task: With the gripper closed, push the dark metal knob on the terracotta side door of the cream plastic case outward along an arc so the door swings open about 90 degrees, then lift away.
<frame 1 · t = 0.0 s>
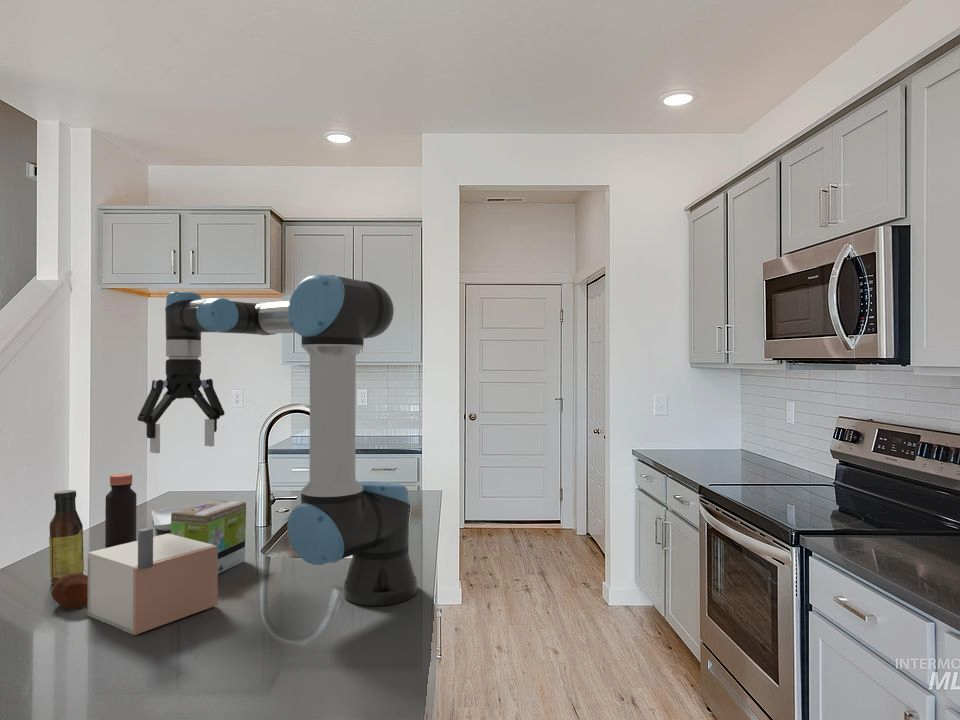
hand: (183, 449, 147), 28 cm above the table, tool pointing down, fingers open, 13 cm apart
case: (152, 610, 122), on the table
salad plate: (191, 524, 190), on the table
side door: (180, 570, 117), point 9 cm above the table, hinge at 0.0°
potato: (72, 606, 124), on the table
vinegar: (120, 555, 158), on the table
tea box: (209, 570, 146), on the table
sauce bottle: (66, 582, 138), on the table
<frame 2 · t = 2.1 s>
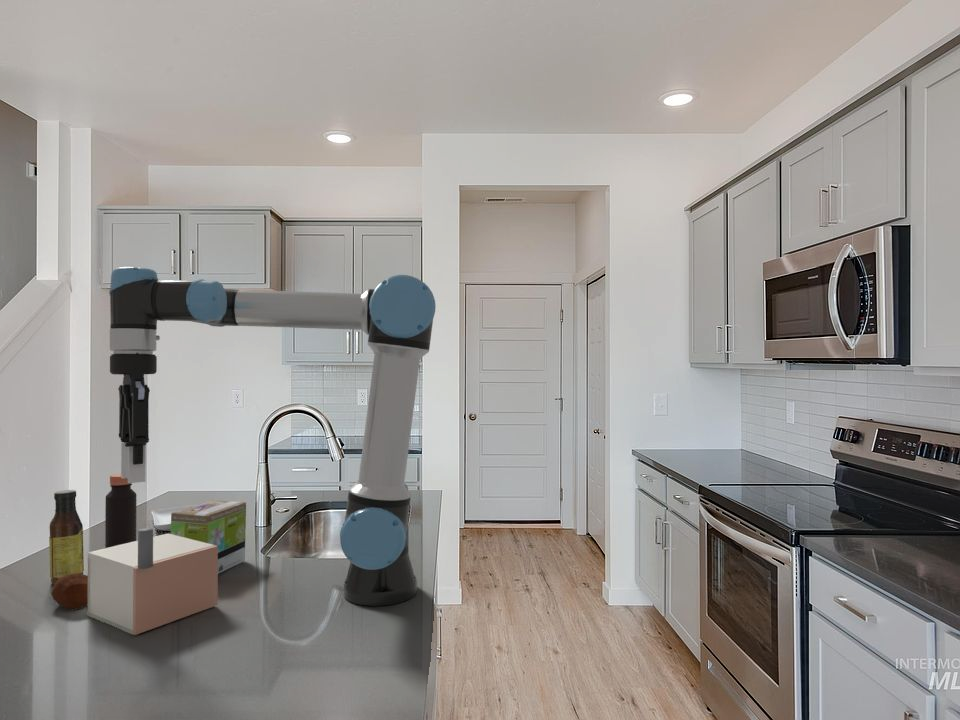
hand: (133, 479, 115), 27 cm above the table, tool pointing down, fingers open, 5 cm apart
nothing on the table moved.
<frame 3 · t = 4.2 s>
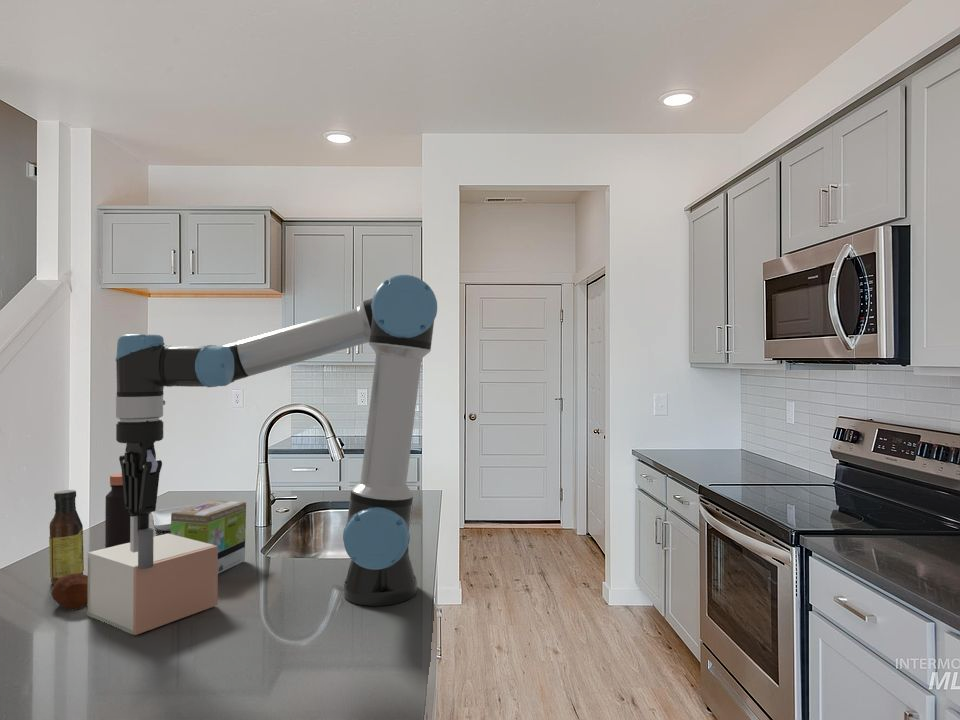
hand: (139, 549, 113), 14 cm above the table, tool pointing down, fingers closed
side door: (180, 570, 117), point 9 cm above the table, hinge at 0.3°, touching gripper
everything else where it was.
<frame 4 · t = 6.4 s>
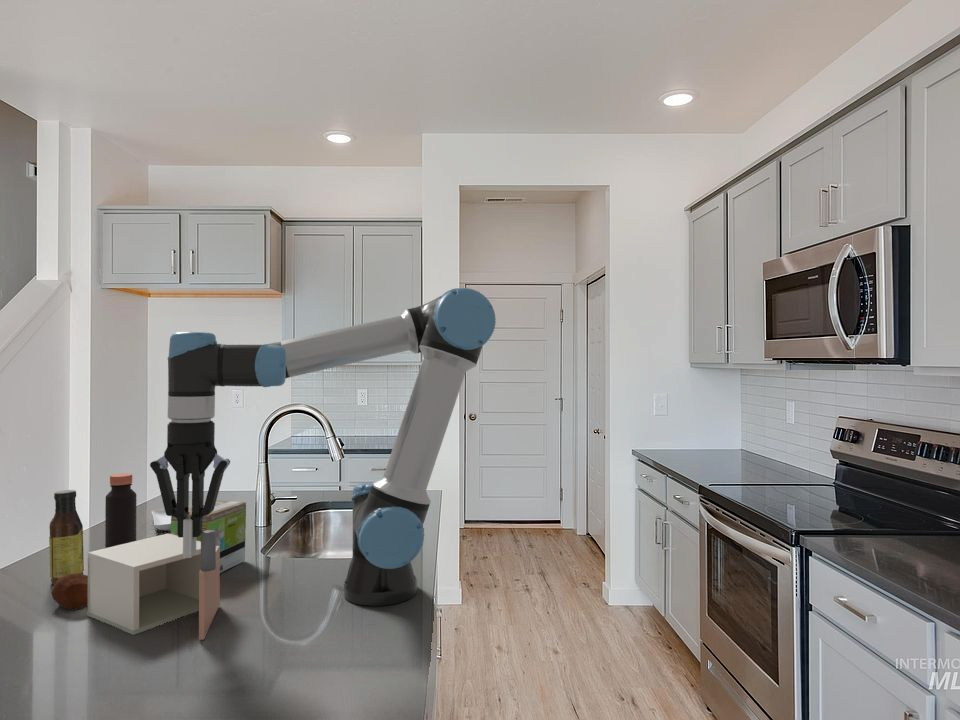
hand: (189, 555, 109), 15 cm above the table, tool pointing down, fingers closed
side door: (214, 571, 116), point 9 cm above the table, hinge at 46.2°, touching gripper
everything else where it was.
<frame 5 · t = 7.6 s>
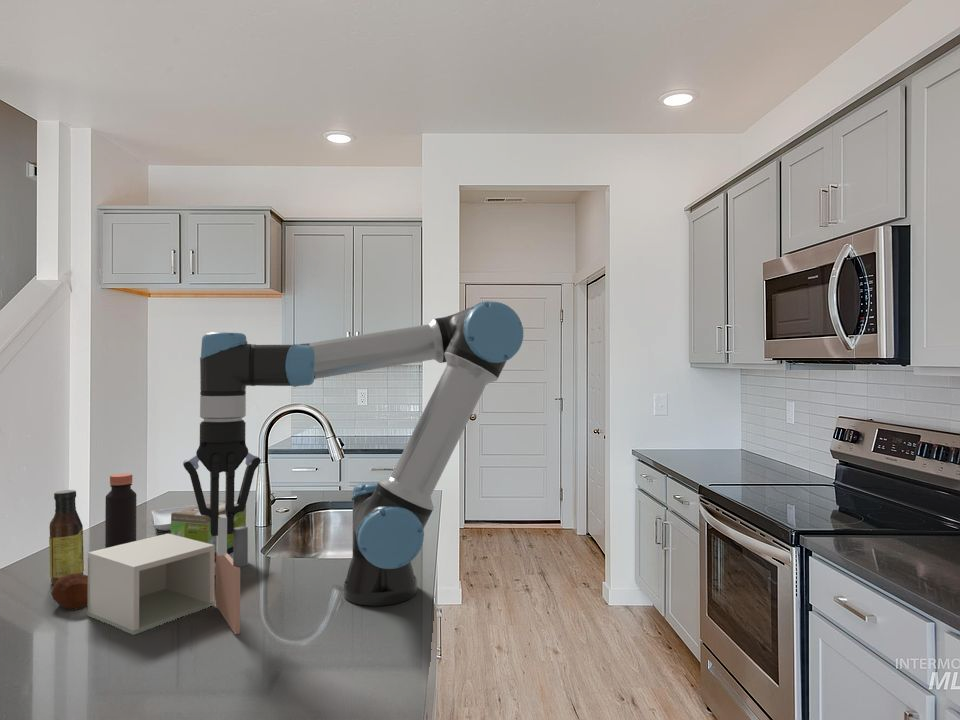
hand: (221, 553, 111), 15 cm above the table, tool pointing down, fingers closed
side door: (231, 569, 118), point 9 cm above the table, hinge at 66.5°, touching gripper
everything else where it was.
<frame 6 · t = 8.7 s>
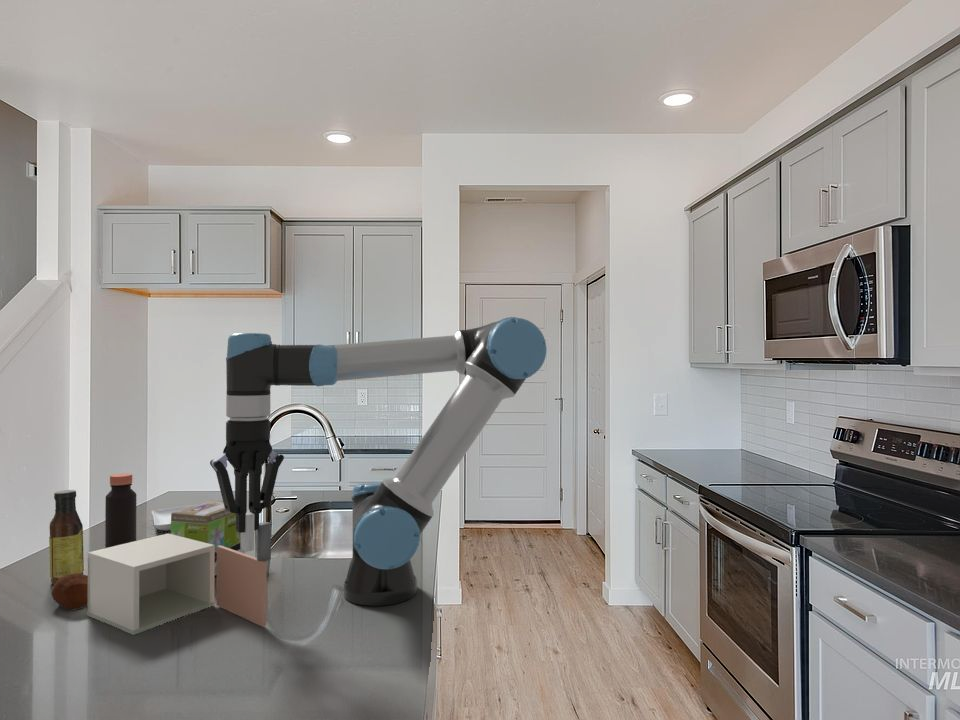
hand: (247, 549, 113), 15 cm above the table, tool pointing down, fingers closed
side door: (244, 565, 119), point 9 cm above the table, hinge at 83.4°, touching gripper
everything else where it was.
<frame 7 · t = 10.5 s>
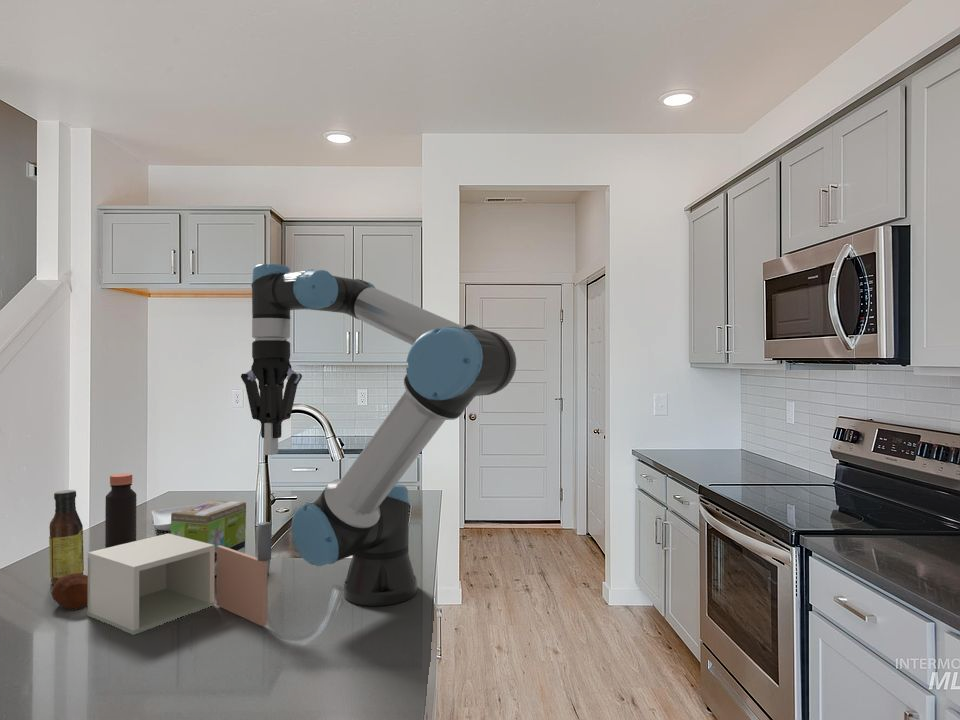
hand: (271, 453, 129), 29 cm above the table, tool pointing down, fingers closed
side door: (244, 565, 119), point 9 cm above the table, hinge at 83.8°
everything else where it was.
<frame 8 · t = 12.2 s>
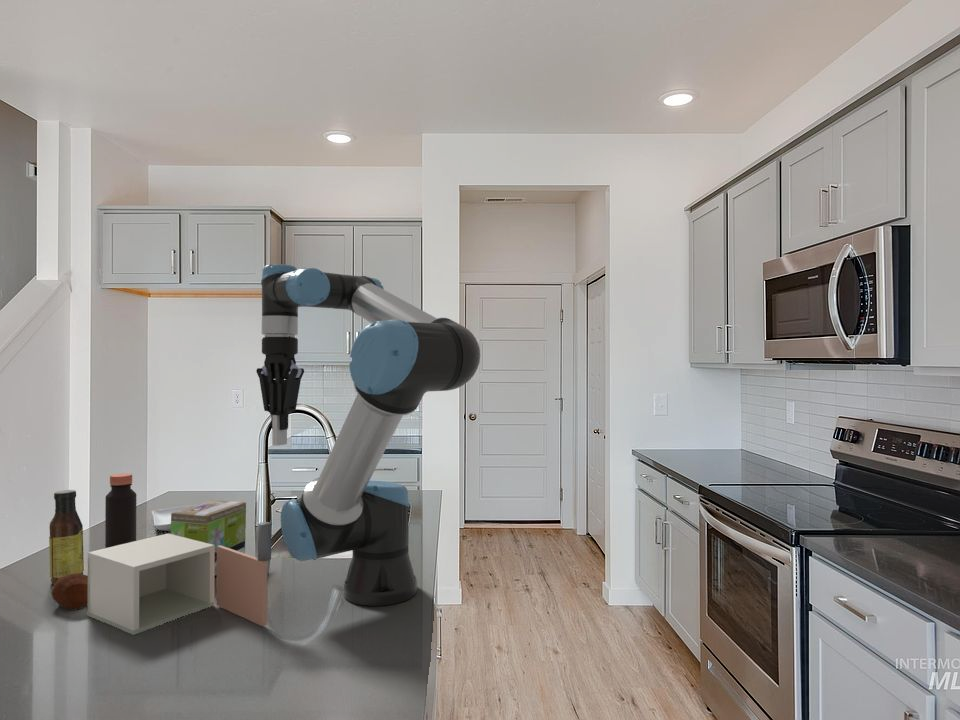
hand: (279, 444, 136), 30 cm above the table, tool pointing down, fingers closed
nothing on the table moved.
at the end: side door at +84° (first picture: +0°); tea box moved 0.3 cm from its start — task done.
